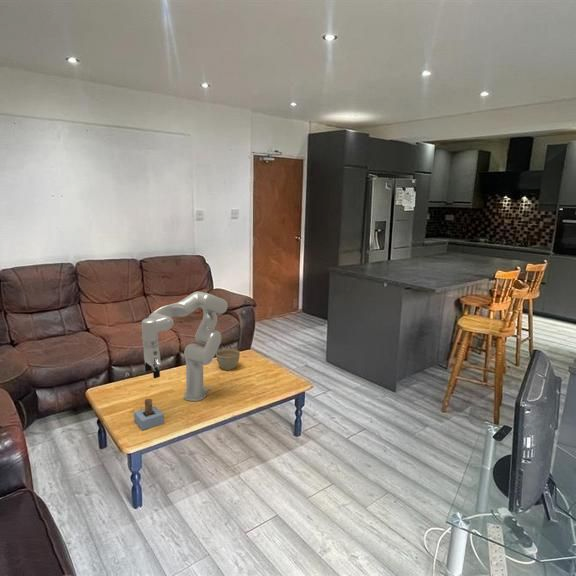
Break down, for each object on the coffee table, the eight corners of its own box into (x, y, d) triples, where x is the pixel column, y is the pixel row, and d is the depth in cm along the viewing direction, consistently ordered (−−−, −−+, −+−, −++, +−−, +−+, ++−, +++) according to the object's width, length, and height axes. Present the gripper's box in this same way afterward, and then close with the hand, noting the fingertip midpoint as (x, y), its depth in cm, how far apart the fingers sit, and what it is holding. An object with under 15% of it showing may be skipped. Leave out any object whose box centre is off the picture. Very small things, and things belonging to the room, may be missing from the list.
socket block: (155, 414, 217) (154, 405, 216) (163, 423, 209) (163, 414, 208) (134, 420, 210) (133, 411, 209) (142, 430, 202) (142, 421, 201)
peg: (151, 419, 212) (150, 398, 210) (153, 422, 209) (153, 400, 207) (144, 421, 210) (143, 400, 207) (146, 424, 207) (146, 402, 205)
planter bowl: (210, 367, 281) (211, 352, 278) (228, 361, 293) (228, 346, 291) (226, 374, 271) (227, 359, 268) (244, 367, 283) (244, 352, 281)
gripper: (165, 346, 203) (167, 378, 207) (150, 336, 215) (152, 366, 219) (150, 349, 198) (152, 382, 202) (136, 339, 210) (138, 370, 215)
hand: (152, 374), depth 211 cm, fingers open, 9 cm apart
